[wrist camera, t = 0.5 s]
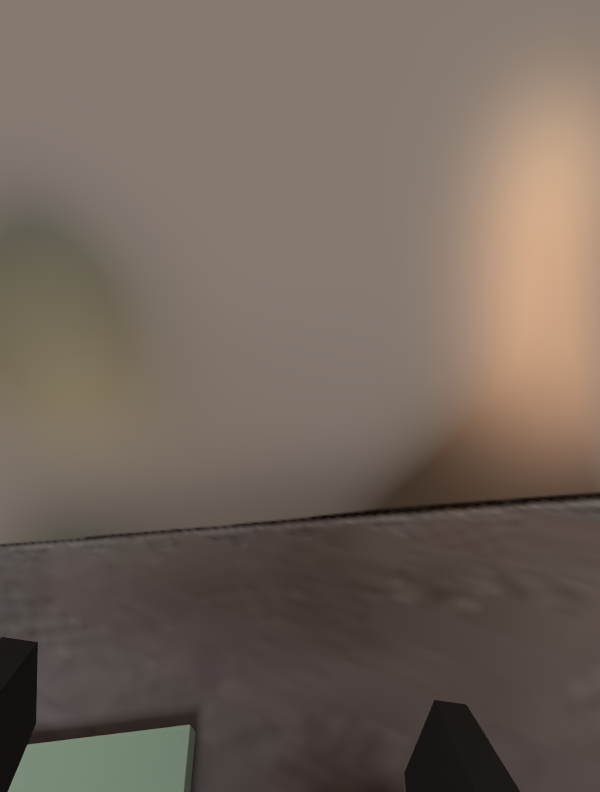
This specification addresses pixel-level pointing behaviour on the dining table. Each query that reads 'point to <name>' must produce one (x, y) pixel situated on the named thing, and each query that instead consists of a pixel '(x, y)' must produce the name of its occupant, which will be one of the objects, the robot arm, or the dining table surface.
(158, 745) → the board
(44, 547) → the dining table surface
